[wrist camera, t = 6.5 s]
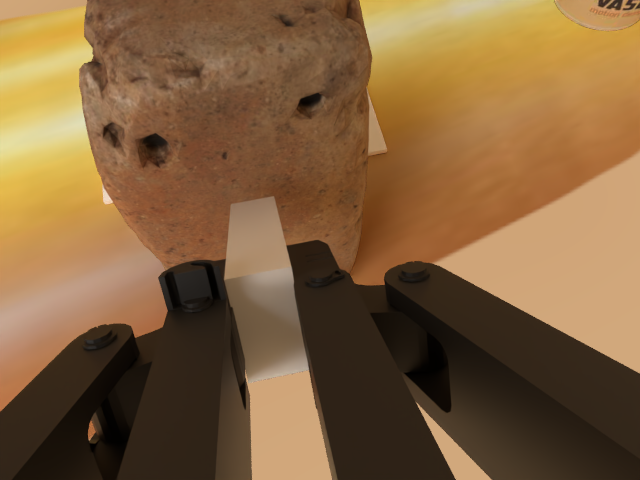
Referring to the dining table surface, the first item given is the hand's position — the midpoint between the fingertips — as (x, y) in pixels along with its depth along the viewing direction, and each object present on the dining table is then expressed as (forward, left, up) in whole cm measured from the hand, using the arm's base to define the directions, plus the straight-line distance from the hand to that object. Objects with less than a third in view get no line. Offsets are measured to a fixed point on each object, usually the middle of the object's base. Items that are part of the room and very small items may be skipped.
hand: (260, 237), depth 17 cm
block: (0, +5, -14) cm, 15 cm away
